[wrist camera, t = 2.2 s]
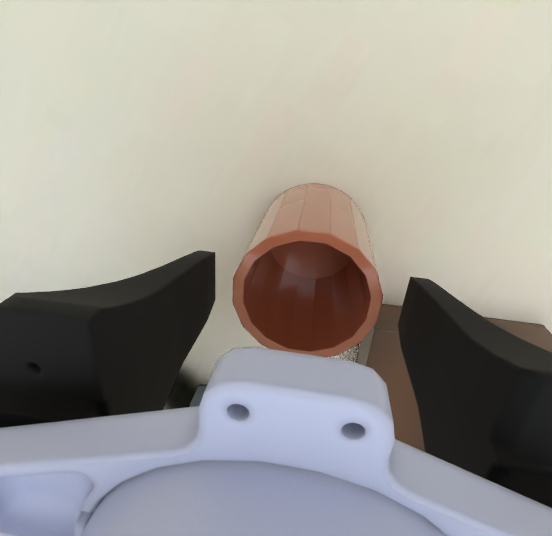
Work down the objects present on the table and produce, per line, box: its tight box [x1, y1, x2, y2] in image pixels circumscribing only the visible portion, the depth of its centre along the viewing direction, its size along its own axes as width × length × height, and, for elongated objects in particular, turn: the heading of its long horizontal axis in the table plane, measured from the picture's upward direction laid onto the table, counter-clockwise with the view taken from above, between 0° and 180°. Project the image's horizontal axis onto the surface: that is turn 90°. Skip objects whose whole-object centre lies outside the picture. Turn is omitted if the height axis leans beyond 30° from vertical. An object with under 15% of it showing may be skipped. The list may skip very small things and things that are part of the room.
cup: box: [233, 184, 383, 357], centre depth 16 cm, size 5×5×6 cm
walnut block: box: [356, 304, 552, 452], centre depth 20 cm, size 9×9×2 cm
